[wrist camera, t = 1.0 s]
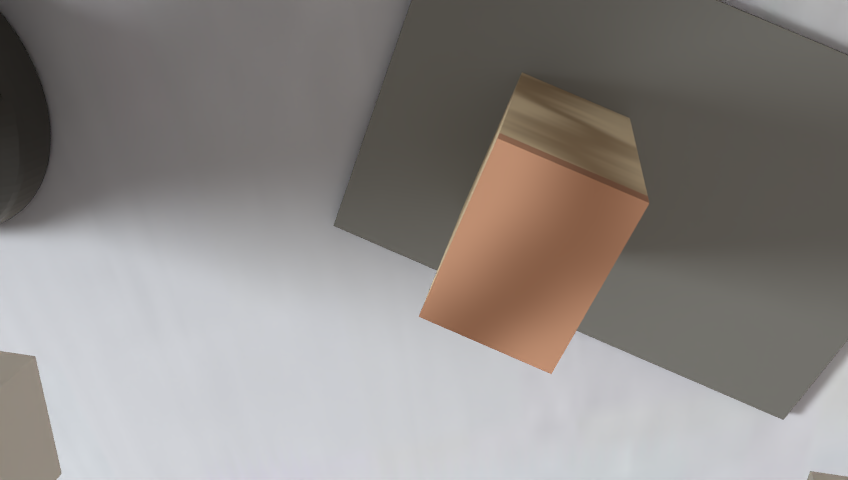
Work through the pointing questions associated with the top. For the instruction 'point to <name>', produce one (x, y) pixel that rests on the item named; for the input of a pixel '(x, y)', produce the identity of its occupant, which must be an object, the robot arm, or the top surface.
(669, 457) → the top surface
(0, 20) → the robot arm
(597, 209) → the flip block
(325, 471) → the top surface
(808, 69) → the mat
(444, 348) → the top surface
